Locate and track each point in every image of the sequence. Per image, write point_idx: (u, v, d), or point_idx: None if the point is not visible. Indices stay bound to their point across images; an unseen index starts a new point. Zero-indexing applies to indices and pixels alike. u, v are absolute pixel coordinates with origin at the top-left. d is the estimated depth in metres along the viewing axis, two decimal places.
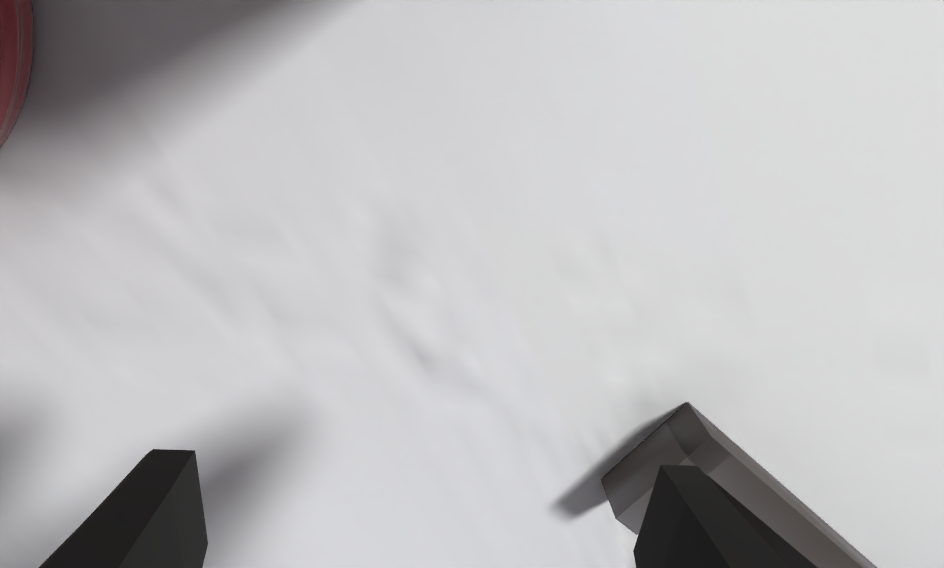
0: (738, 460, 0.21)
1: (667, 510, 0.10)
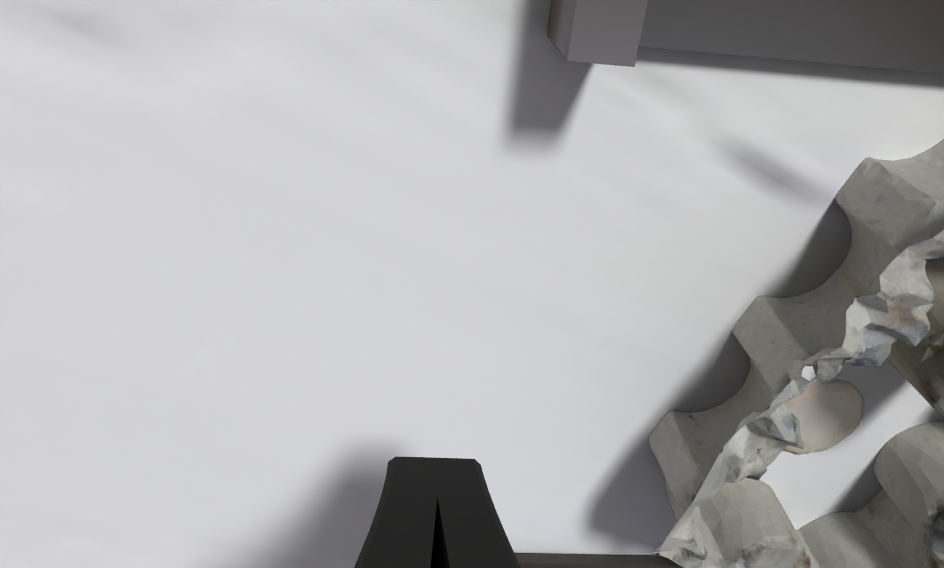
0: None
1: None
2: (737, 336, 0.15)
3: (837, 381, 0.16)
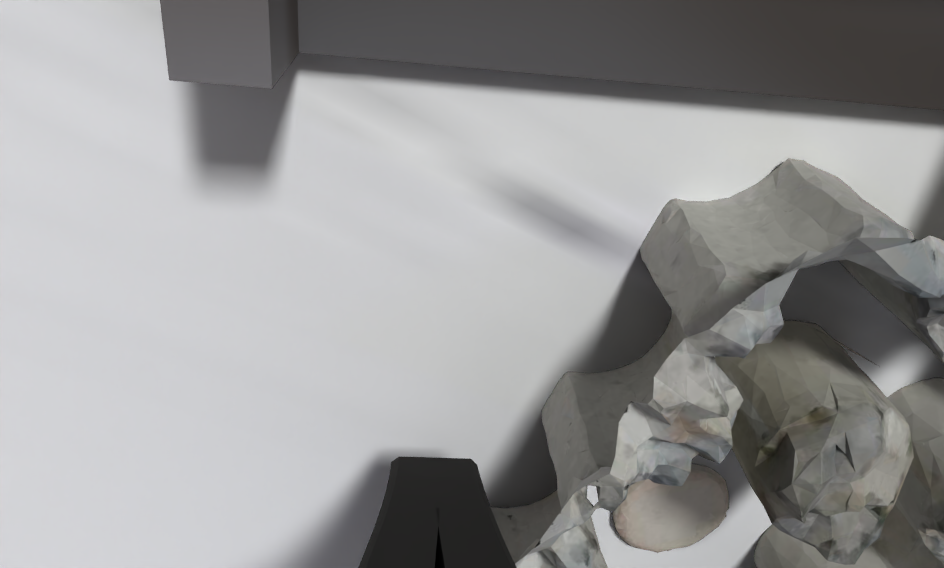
0: None
1: None
2: (544, 425, 0.12)
3: None
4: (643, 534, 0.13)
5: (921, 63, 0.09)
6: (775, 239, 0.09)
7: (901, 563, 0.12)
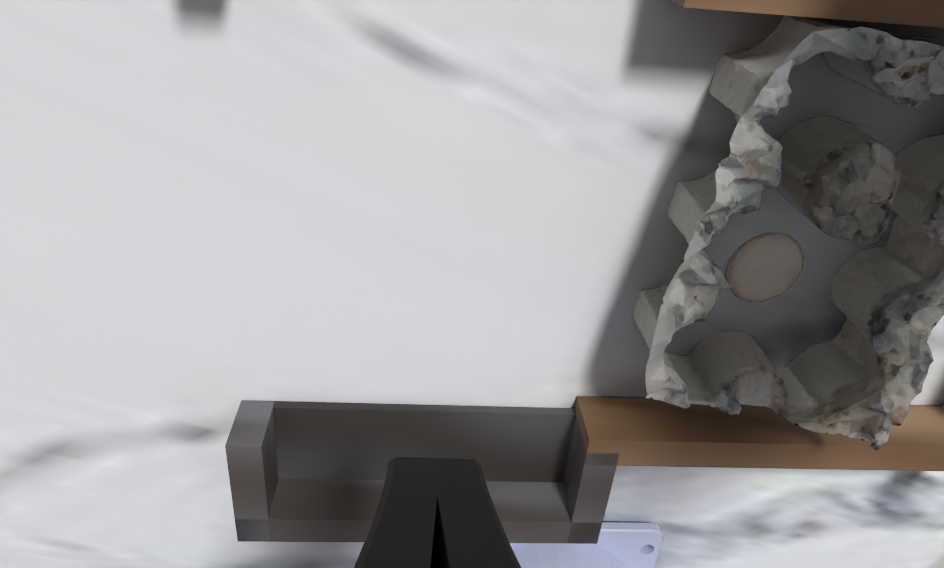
0: None
1: None
2: (670, 217, 0.19)
3: (769, 234, 0.20)
4: (748, 288, 0.20)
5: None
6: (784, 56, 0.16)
7: (923, 262, 0.19)
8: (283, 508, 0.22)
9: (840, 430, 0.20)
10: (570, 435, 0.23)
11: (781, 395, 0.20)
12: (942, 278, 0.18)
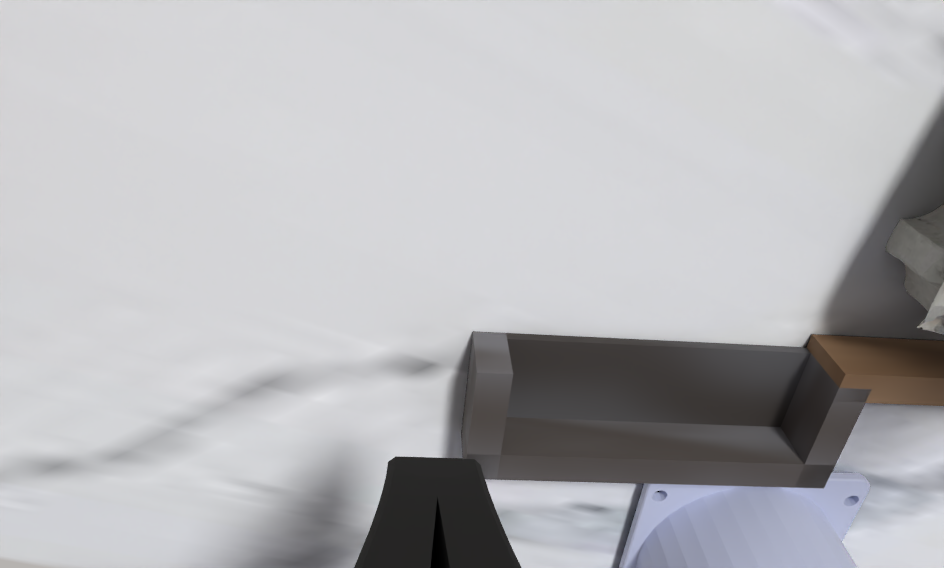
0: None
1: None
2: None
3: None
4: None
5: None
6: None
7: None
8: (511, 445, 0.21)
9: None
10: (799, 375, 0.22)
11: None
12: None
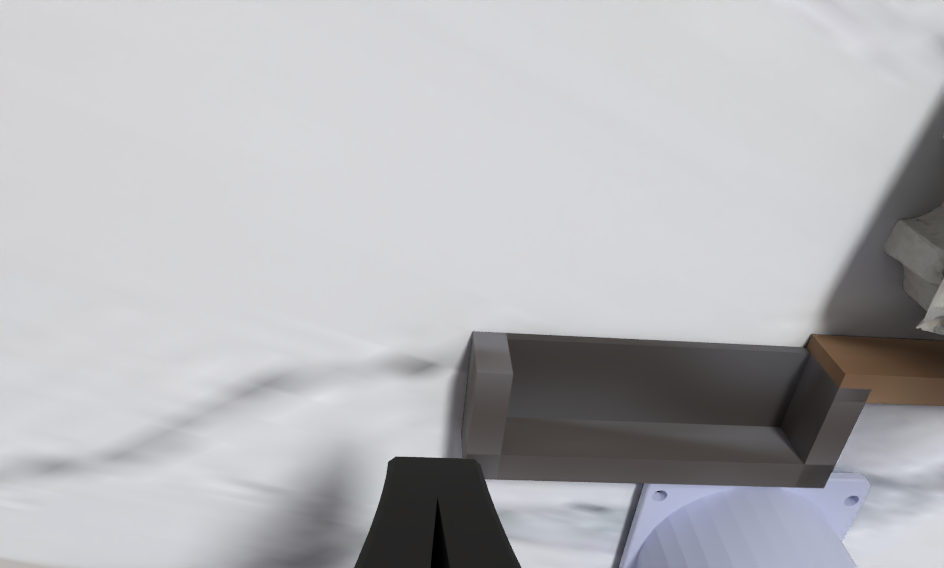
0: None
1: None
2: None
3: None
4: None
5: None
6: None
7: None
8: (511, 445, 0.21)
9: None
10: (799, 375, 0.22)
11: None
12: None
